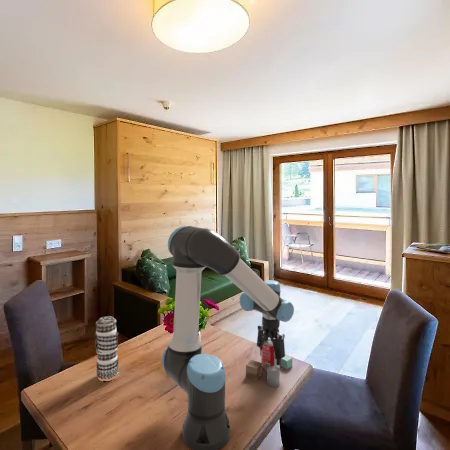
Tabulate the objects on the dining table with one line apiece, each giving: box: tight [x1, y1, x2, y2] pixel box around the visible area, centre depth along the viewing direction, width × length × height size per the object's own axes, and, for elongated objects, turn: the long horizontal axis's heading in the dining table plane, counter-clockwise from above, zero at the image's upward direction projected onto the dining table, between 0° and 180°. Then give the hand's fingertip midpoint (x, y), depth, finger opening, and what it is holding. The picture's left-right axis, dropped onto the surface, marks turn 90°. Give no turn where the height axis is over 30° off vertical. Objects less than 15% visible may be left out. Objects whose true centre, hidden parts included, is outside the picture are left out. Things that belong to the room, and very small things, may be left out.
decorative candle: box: [94, 315, 120, 379], centre depth 125 cm, size 9×9×25 cm
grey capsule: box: [266, 366, 281, 388], centre depth 121 cm, size 5×5×6 cm
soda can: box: [262, 338, 276, 372], centre depth 131 cm, size 7×7×12 cm
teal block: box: [280, 354, 293, 370], centre depth 135 cm, size 4×6×4 cm, turn 42°
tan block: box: [245, 359, 263, 381], centre depth 127 cm, size 5×5×5 cm
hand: (270, 367), depth 132 cm, fingers closed on soda can, 7 cm apart
